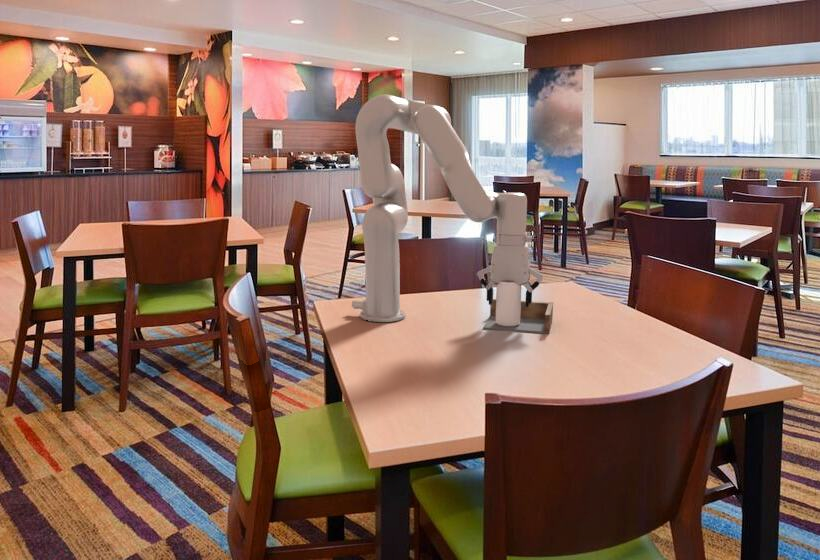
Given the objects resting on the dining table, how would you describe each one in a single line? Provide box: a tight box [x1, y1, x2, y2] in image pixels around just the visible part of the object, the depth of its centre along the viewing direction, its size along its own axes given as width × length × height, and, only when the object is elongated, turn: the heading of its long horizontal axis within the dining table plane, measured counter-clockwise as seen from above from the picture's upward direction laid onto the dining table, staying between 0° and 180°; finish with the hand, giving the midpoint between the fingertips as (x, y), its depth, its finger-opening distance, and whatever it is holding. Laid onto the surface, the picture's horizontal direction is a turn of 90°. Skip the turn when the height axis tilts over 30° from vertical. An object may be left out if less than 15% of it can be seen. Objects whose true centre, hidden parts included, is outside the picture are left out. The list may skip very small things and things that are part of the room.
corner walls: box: [489, 298, 554, 335], centre depth 179 cm, size 17×14×5 cm
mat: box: [482, 315, 551, 335], centre depth 179 cm, size 17×14×1 cm
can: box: [495, 281, 522, 327], centre depth 177 cm, size 6×6×12 cm
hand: (508, 304), depth 177 cm, fingers open, 9 cm apart
